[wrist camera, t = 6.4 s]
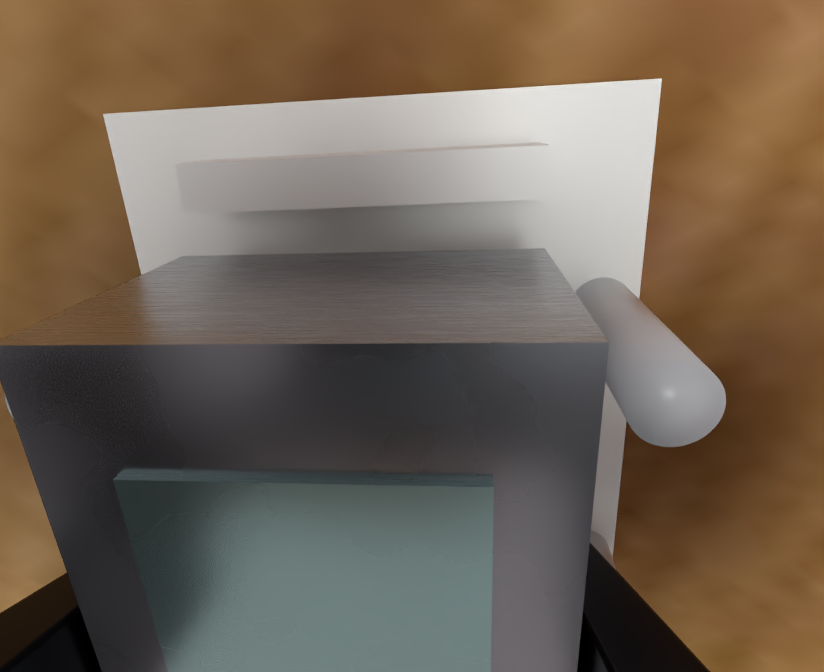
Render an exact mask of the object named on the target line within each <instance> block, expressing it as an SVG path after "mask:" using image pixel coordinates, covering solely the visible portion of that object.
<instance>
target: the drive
mask: <svg viewBox="0 0 824 672" xmlns="http://www.w3.org/2000/svg"><path fill="white" fill-rule="evenodd" d="M608 350H609V341H608V340H607V338H606V337H605V335H604V334H603V332H602V331H601V330H600V328H599V327H598V325H597V324H596V322H595V321H594V319H593V318H592V316H591V315H590V313H589V312H588V311H587V309H586V308H585V306H584V305H583V303H582V302H581V300H580V299H579V297H578V296H577V294H576V293H575V292H574V290H573V289H572V287H571V286H570V284H569V283H568V281H567V280H566V278H565V277H564V275H563V274H562V273H561V271H560V270H559V268H558V267H557V265H556V264H555V262H554V261H553V259H552V258H551V257H550V255H549V254H548V252H547V251H546V249H545V248H535V249H489V250H443V251H397V252H350V253H304V254H258V255H212V256H182V257H179V258H177V259H175V260H173V261H171V262H169V263H166V264H164V265H162V266H160V267H158V268H156V269H153V270H151V271H149V272H147V273H145V274H142V275H140V276H138V277H136V278H134V279H132V280H129V281H127V282H125V283H123V284H121V285H119V286H116V287H114V288H112V289H110V290H108V291H106V292H103V293H101V294H99V295H97V296H95V297H92V298H90V299H88V300H86V301H84V302H82V303H79V304H77V305H75V306H73V307H71V308H69V309H66V310H64V311H62V312H60V313H58V314H56V315H53V316H51V317H49V318H47V319H45V320H43V321H40V322H38V323H36V324H34V325H32V326H29V327H27V328H25V329H23V330H21V331H19V332H16V333H14V334H12V335H10V336H8V337H6V338H3V339H1V340H0V381H1V384H2V387H3V390H4V393H5V396H6V398H7V401H8V404H9V407H10V410H11V413H12V416H13V419H14V421H15V424H16V427H17V430H18V433H19V436H20V439H21V441H22V444H23V447H24V450H25V453H26V456H27V459H28V462H29V464H30V467H31V470H32V473H33V476H34V479H35V482H36V484H37V487H38V490H39V493H40V496H41V499H42V502H43V505H44V507H45V510H46V513H47V516H48V519H49V522H50V525H51V527H52V530H53V533H54V536H55V539H56V542H57V545H58V548H59V550H60V553H61V556H62V559H63V562H64V565H65V568H66V570H67V573H68V576H69V579H70V582H71V585H72V588H73V591H74V593H75V596H76V599H77V602H78V605H79V608H80V611H81V613H82V616H83V619H84V622H85V625H86V628H87V631H88V634H89V636H90V639H91V642H92V645H93V648H94V651H95V654H96V656H97V659H98V662H99V665H100V668H101V671H102V672H577V666H578V656H579V646H580V635H581V625H582V615H583V605H584V595H585V584H586V574H587V564H588V554H589V544H590V533H591V523H592V513H593V503H594V493H595V483H596V472H597V462H598V452H599V442H600V432H601V421H602V411H603V401H604V391H605V381H606V371H607V360H608Z"/></svg>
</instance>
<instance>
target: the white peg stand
mask: <svg viewBox="0 0 824 672" xmlns="http://www.w3.org/2000/svg"><path fill="white" fill-rule="evenodd" d="M661 82H662V79H647V80H631V81H615V82H599V83H584V84H568V85H552V86H536V87H521V88H505V89H489V90H473V91H457V92H442V93H426V94H410V95H394V96H379V97H363V98H347V99H331V100H315V101H300V102H284V103H268V104H252V105H237V106H221V107H205V108H189V109H173V110H158V111H142V112H126V113H110V114H103V116H104V120H105V125H106V129H107V133H108V137H109V141H110V146H111V150H112V154H113V158H114V162H115V166H116V171H117V175H118V179H119V183H120V187H121V192H122V196H123V200H124V204H125V208H126V212H127V217H128V221H129V225H130V229H131V233H132V238H133V242H134V246H135V250H136V254H137V258H138V263H139V267H140V271H141V275H142V274H145V273H147V272H149V271H151V270H153V269H156V268H158V267H160V266H162V265H164V264H166V263H169V262H171V261H173V260H175V259H177V258H179V257H182V256H212V255H258V254H304V253H350V252H397V251H443V250H489V249H535V248H545V249H546V251H547V252H548V254H549V255H550V257H551V258H552V259H553V261H554V262H555V264H556V265H557V267H558V268H559V270H560V271H561V273H562V274H563V275H564V277H565V278H566V280H567V281H568V283H569V284H570V286H571V287H572V289H573V290H574V292H575V293H576V294H577V296H578V297H579V299H580V300H581V302H582V303H583V305H584V306H585V308H586V309H587V311H588V312H589V313H590V315H591V316H592V318H593V319H594V321H595V322H596V324H597V325H598V327H599V328H600V330H601V331H602V332H603V334H604V335H605V337H606V338H607V340H608V341H609V350H608V360H607V371H606V381H605V391H604V401H603V411H602V421H601V432H600V442H599V452H598V462H597V472H596V483H595V493H594V503H593V513H592V523H591V533H590V542H591V544H592V545H593V546H594V547H595V548H596V549H597V550H598V551H599V552H600V553H601V554H602V555H603V556H604V558H605V559H606V560H607V561H608V562H609V563H610V564H611V565H612V566H613V567H614V568H615V569H616V567H615V564H614V561H613V548H614V538H615V529H616V519H617V509H618V500H619V490H620V480H621V470H622V461H623V451H624V441H625V432H626V422H628V424H629V425H630V427H631V429H632V430H633V431H634V433H635V434H636V435H637V436H639V437H640V438H641V439H643V440H644V441H646V442H648V443H650V444H653V445H657V446H662V447H678V446H684V445H688V444H691V443H693V442H696V441H698V440H700V439H701V438H703V437H704V436H706V435H707V434H708V433H710V432H711V431H712V430H713V429H714V428H715V427H716V425H717V424H718V423H719V421H720V420H721V418H722V416H723V413H724V411H725V407H726V394H725V389H724V387H723V385H722V383H721V381H720V380H719V379H718V377H717V376H716V375H715V374H714V373H713V372H712V371H711V370H710V369H709V368H708V367H707V366H706V365H705V364H704V363H703V362H702V361H701V360H700V359H699V358H698V357H697V356H696V355H695V354H694V353H693V352H692V351H691V350H690V349H689V348H688V347H687V346H686V345H685V344H684V343H683V342H682V341H681V340H680V339H679V338H678V337H677V336H676V335H675V334H674V333H673V332H672V331H671V330H670V329H669V328H668V327H667V326H666V325H665V324H664V323H663V322H662V321H661V320H660V319H659V318H658V317H657V316H656V315H655V314H654V313H653V312H652V311H651V310H650V309H648V308H647V307H646V306H645V305H644V304H643V303H642V302H641V301H640V300H639V296H640V286H641V276H642V267H643V257H644V247H645V238H646V228H647V218H648V208H649V199H650V189H651V179H652V170H653V160H654V150H655V140H656V131H657V121H658V111H659V102H660V92H661ZM5 401H6V405H7V408H8V411H9V413H10V414H11V416H12V413H11V410H10V407H9V404H8V401H7V398H6V396H5ZM12 418H13V416H12ZM616 571H617V570H616Z"/></svg>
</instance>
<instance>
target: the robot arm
mask: <svg viewBox="0 0 824 672" xmlns="http://www.w3.org/2000/svg"><path fill="white" fill-rule="evenodd" d="M0 672H102V671H101V668H100V665H99V662H98V659H97V656H96V654H95V651H94V648H93V645H92V642H91V639H90V636H89V634H88V631H87V628H86V625H85V622H84V619H83V616H82V613H81V611H80V608H79V605H78V602H77V599H76V596H75V593H74V591H73V588H72V585H71V582H70V579H69V576H68V573H65V574H64V575H62V576H60V577H59V578H57V579H55V580H54V581H52V582H51V583H49V584H47V585H46V586H44V587H42V588H41V589H39V590H37V591H36V592H34V593H32V594H31V595H29V596H28V597H26V598H24V599H23V600H21V601H19V602H18V603H16V604H14V605H13V606H11V607H10V608H8V609H6V610H5V611H3V612H1V613H0ZM577 672H710V671H709V670H708V669H707V668H706V667H705V666H704V664H703V663H702V662H701V661H700V660H699V659H698V658H697V657H696V656H695V655H694V654H693V653H692V652H691V650H690V649H689V648H688V647H687V646H686V645H685V644H684V643H683V642H682V641H681V640H680V639H679V637H678V636H677V635H676V634H675V633H674V632H673V631H672V630H671V629H670V628H669V627H668V626H667V625H666V623H665V622H664V621H663V620H662V619H661V618H660V617H659V616H658V615H657V614H656V613H655V612H654V610H653V609H652V608H651V607H650V606H649V605H648V604H647V603H646V602H645V601H644V600H643V599H642V598H641V596H640V595H639V594H638V593H637V592H636V591H635V590H634V589H633V588H632V587H631V586H630V585H629V583H628V582H627V581H626V580H625V579H624V578H623V577H622V576H621V575H620V574H619V573H618V572H617V571H616V569H615V568H614V567H613V566H612V565H611V564H610V563H609V562H608V561H607V560H606V559H605V558H604V556H603V555H602V554H601V553H600V552H599V551H598V550H597V549H596V548H595V547H594V546H593V545H592V544H591V542H590V544H589V554H588V564H587V574H586V584H585V595H584V605H583V615H582V625H581V635H580V646H579V656H578V666H577Z"/></svg>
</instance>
